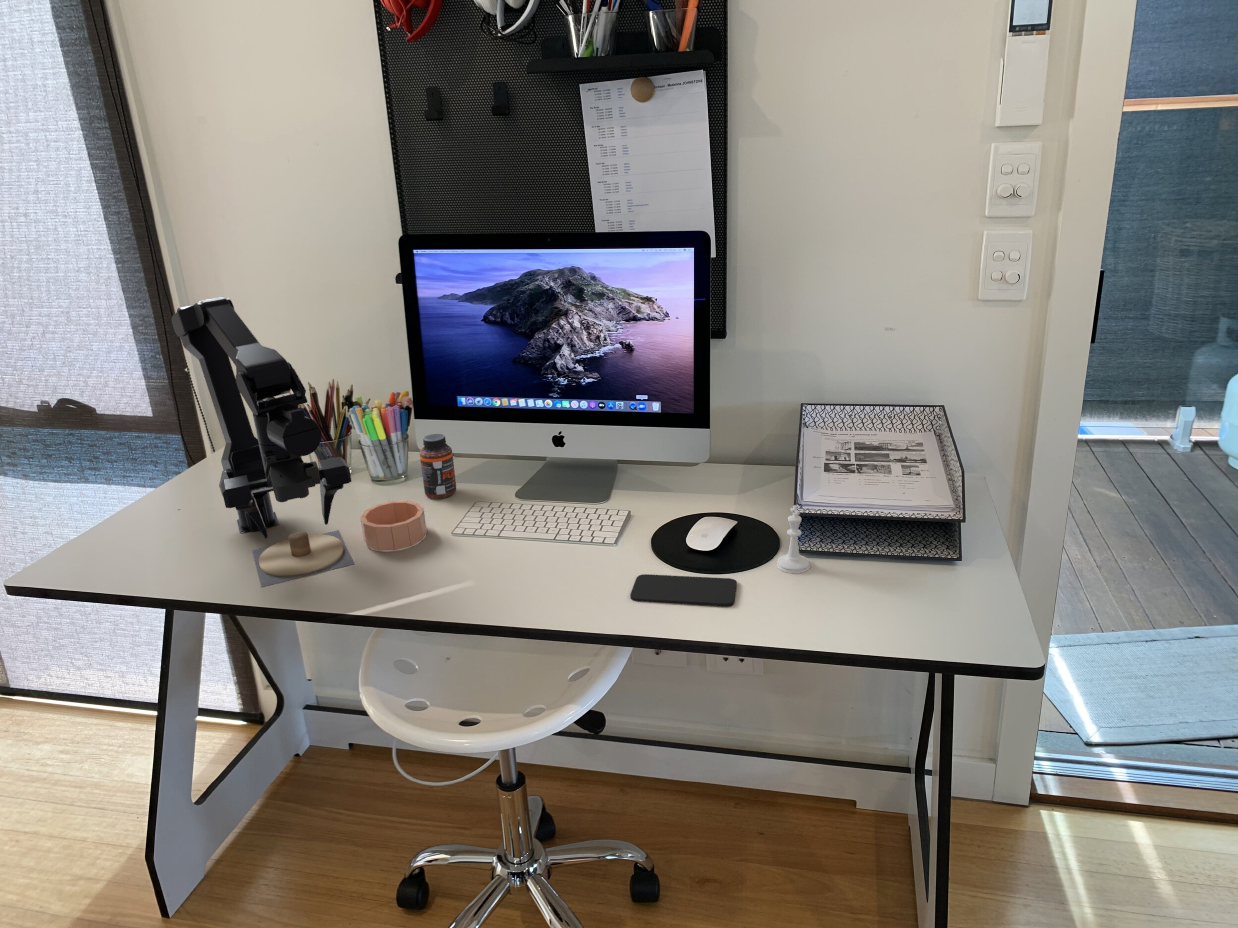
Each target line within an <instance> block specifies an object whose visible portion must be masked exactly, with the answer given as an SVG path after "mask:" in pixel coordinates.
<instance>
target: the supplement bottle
mask: <svg viewBox="0 0 1238 928" xmlns="http://www.w3.org/2000/svg"><path fill="white" fill-rule="evenodd" d="M422 441H423V443H422V444H423V447H422V448H421V449H420V451H419V460H420V467H421V468H420V469H421V474H422V475H421V476H422V483H423V490H424V494H425V496H426V497H427V498H428V499H429V498H430V499H434V500H440V499H441V500H442V499H446V498H449V497H451V496H454V494H456V492H457V482H456V474H455V464H454V455H453V449H452V447H451V446H449V445H448V443H446V442H447V441H446V435H444V434H442V433H431V434H427V435H425V436H423V438H422Z"/></svg>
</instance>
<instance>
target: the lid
mask: <svg viewBox="0 0 1238 928" xmlns="http://www.w3.org/2000/svg"><path fill="white" fill-rule="evenodd" d="M322 534H323V533H321V534H320V533H318V534H317V533H316V534H315V533H314V534H309V533H308V532H307V531H297V532H294V533H293V532H292V533H291V534H289V535H288V536H287V539H283V540H280V541H279V542H276V543H274V544H272V545H270V546H271V547H269V548H267V549H266V550H265V551H264V552H263V553H262V554H261V555H260V557H259V565H260V568H261V570H262V571H263V572H265V573H266V574H269V575H272V576H279V577H292V576H300V575H305V574H310V573H313V572H316V571H319V570H322V569H324V568H326V567H328V566H330V565H332V564H333V563H335V562H336V561H337V560H339V559H340V557H341V556H342V554H343V552H344V548H343V544H342V542H341V541H340V540H339V539H338V538H336V537H333V536H330V535H322Z"/></svg>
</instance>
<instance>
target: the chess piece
mask: <svg viewBox="0 0 1238 928" xmlns="http://www.w3.org/2000/svg"><path fill="white" fill-rule="evenodd" d="M789 510H790V512H791V513H792V515H789V516H788V517H787V520H788V523H789V527H790V528H789V529H787V531H786V534H787V535H788V536H790V539H789V540H790V541H789V547H788V552H787V553H786V554H783V555H781V556H779V558H778V559H777V563H776V567H777V568H778V570H780V571H782V572H784V573H788V574H801V573H804V572H806V571H808V570H809V569H811V568H810V567H811V564H810V560H809V559H808V558H807V557H806V556H804V555H801V554H800V551H799V550H800V549H799V539H798V537H800V536H801V535H802V530H800V529H799V527H800V524H801V522H802V517H801V516H800V514H801V511H800V510H798V506H797V504H794V505H793V506H792V507H790V509H789Z"/></svg>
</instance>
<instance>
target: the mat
mask: <svg viewBox="0 0 1238 928" xmlns="http://www.w3.org/2000/svg"><path fill="white" fill-rule="evenodd" d="M321 534H322V535H330V536H333V537H336V538H338V539H339V540H340V541H341V542H342V544H343V548H344V552H343V554H342V556H341V557H340V559H339V560H337V561H336V562H335V563H333V564H332V565H330V566H328V567H326V568H324V569H322V570H319V571H316V572H313V573H310V574H305V575H300V576H292V577H279V576H272V575H269V574H266V573H265V572H263V571H262V570H261V568H260V565H259V557H260V555H261V554H262V553H263V552H264V551H265V550H266V549H267V548H269V547H271V546H272V545H269V546H264V547H260V548H256V549H252V550H251V551H252V554H253V559H254V563H255V568H256V571H257V574H258V575H257V576H258V579H259V583H260V587H261V588H264V587H269V586H274V585H276V584H280V583H281V584H282V583H285V582H289V581H292V580H296V579H301V578H305V577H309V576H314V575H317V574H320V573H325V572H328V571H332V570H333V571H334V570H338V569H341V568H345V567H349V566H353V565H355V562H354V560H353V558H352V556H351V553H350V552H349V549H348V547H347V545H346V543H345V541H344V539H343V537H342V535H341V532H340V530H339V529H337V530H333V531H330V532H325V533H321Z"/></svg>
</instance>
